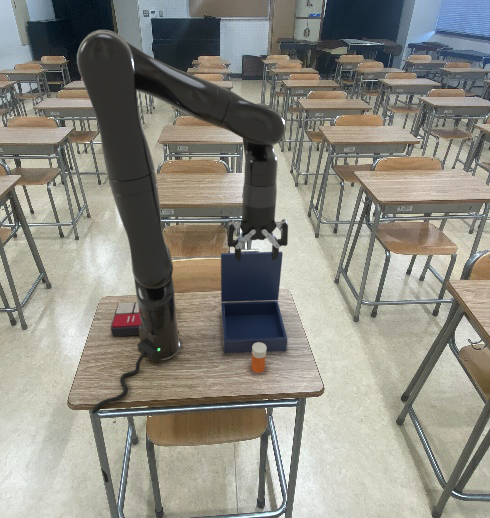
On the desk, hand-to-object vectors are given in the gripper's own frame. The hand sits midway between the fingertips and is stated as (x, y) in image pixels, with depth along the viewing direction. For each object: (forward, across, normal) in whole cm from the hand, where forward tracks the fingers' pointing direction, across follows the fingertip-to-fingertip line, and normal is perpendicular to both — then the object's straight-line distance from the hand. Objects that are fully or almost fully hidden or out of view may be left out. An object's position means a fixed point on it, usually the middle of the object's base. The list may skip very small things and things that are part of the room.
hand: (256, 259), depth 98 cm
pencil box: (+25, 0, 0) cm, 25 cm away
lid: (+11, 0, +7) cm, 14 cm away
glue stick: (+25, 0, -13) cm, 28 cm away
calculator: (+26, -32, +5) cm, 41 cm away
